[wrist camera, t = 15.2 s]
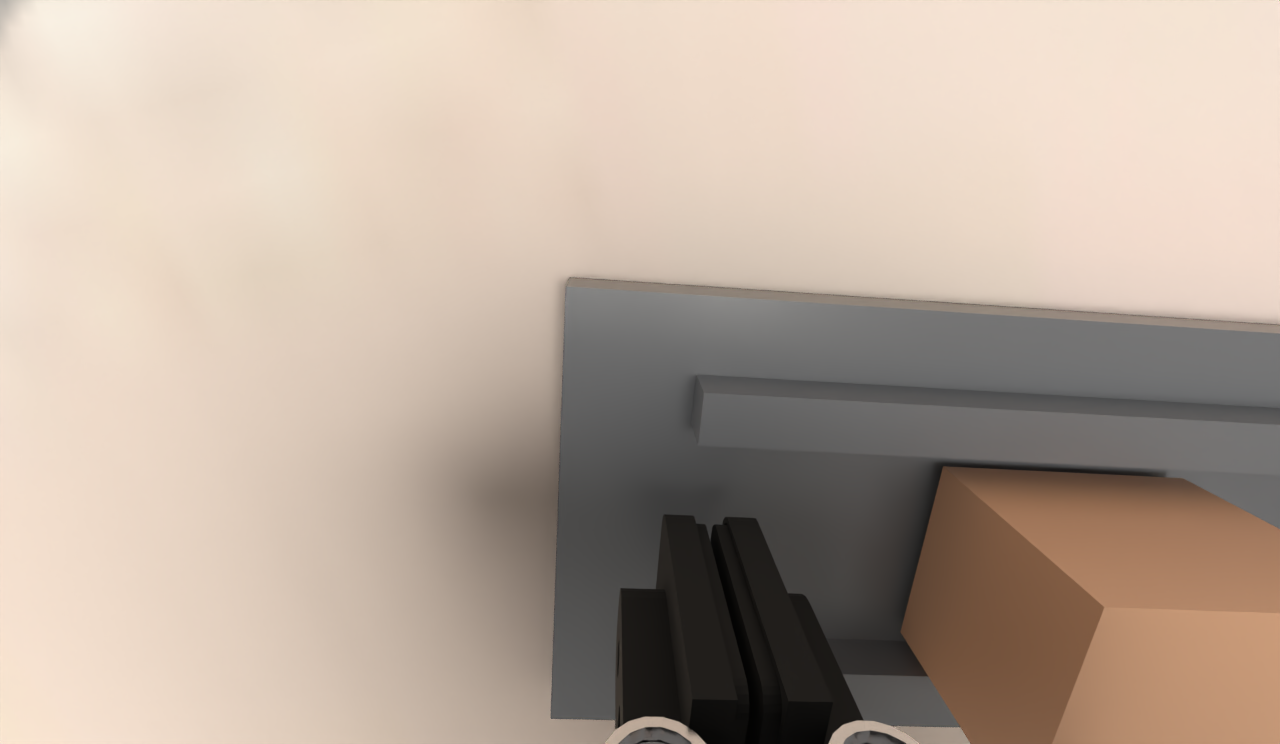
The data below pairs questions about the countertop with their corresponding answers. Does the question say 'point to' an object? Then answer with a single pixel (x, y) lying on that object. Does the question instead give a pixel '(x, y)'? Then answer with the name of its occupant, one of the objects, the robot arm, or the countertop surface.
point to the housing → (863, 444)
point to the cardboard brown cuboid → (1097, 610)
